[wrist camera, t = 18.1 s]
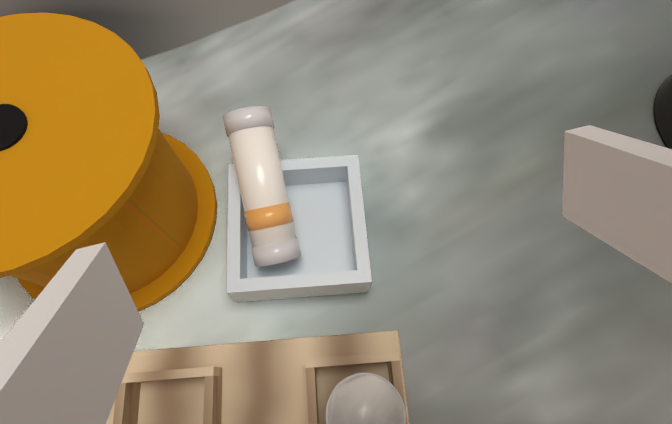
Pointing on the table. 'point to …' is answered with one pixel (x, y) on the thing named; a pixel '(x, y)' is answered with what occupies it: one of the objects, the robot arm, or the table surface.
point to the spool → (92, 161)
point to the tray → (306, 235)
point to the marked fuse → (262, 185)
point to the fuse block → (251, 380)
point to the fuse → (365, 401)
